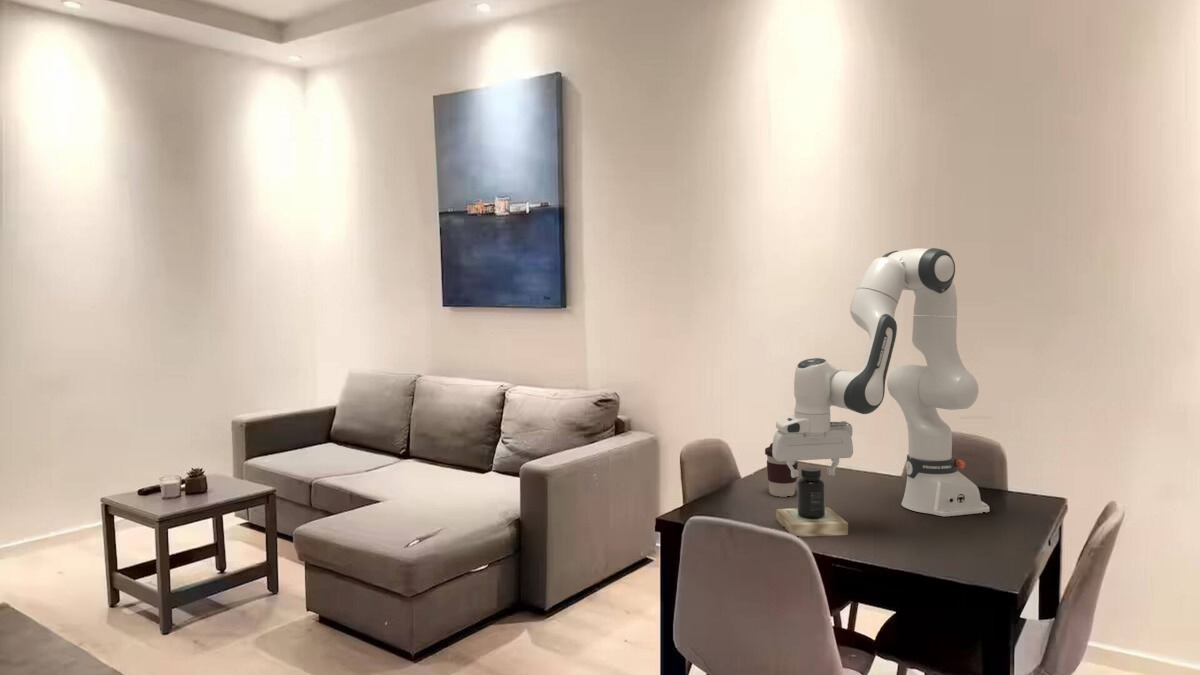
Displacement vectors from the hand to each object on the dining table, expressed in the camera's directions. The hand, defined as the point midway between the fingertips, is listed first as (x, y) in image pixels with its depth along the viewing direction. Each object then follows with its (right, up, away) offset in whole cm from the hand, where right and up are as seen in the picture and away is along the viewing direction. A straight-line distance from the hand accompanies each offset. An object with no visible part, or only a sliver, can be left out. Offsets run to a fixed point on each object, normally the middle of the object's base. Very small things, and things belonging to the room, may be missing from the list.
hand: (812, 476), depth 210 cm
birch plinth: (0, -13, +1) cm, 13 cm away
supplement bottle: (0, -10, 0) cm, 10 cm away
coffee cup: (-1, -11, +33) cm, 35 cm away
